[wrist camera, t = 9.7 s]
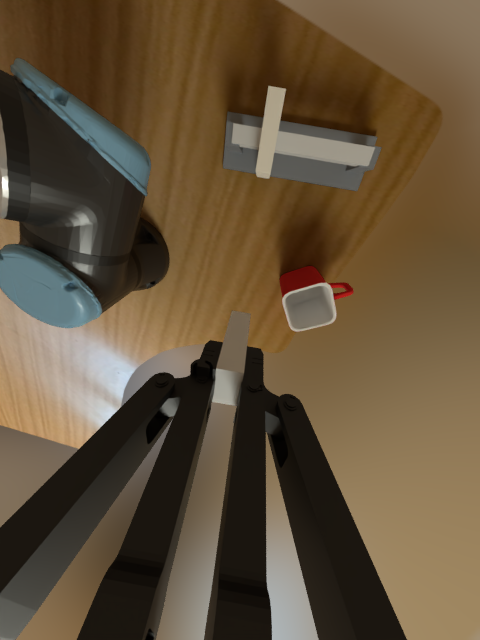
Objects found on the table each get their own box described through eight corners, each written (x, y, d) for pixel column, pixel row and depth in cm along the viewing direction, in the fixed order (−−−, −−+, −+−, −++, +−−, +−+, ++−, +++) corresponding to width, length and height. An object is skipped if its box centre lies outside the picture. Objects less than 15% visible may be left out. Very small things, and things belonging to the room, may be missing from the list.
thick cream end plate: (257, 176, 35) (255, 171, 28) (267, 110, 30) (268, 85, 24) (269, 178, 35) (270, 174, 28) (280, 113, 30) (286, 88, 24)
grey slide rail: (223, 168, 36) (215, 162, 30) (228, 113, 33) (220, 93, 26) (355, 190, 36) (374, 189, 30) (375, 138, 32) (401, 124, 26)
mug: (286, 307, 48) (291, 333, 39) (276, 274, 45) (279, 294, 36) (341, 292, 45) (360, 316, 36) (335, 255, 42) (355, 272, 32)
